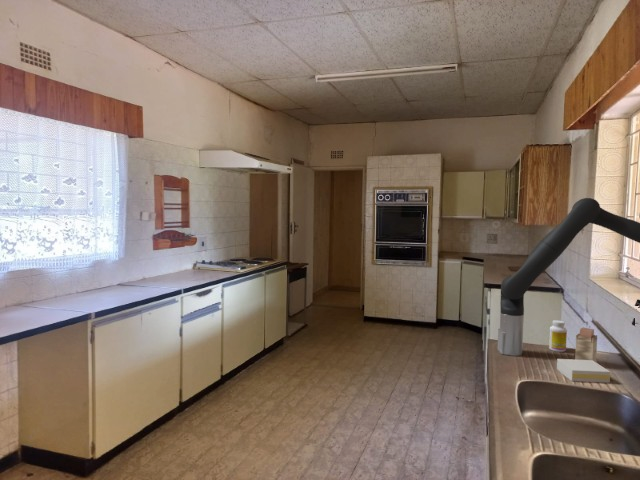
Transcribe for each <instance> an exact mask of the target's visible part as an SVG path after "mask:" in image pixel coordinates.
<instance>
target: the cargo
mask: <svg viewBox="0 0 640 480" xmlns="http://www.w3.org/2000/svg"><path fill="white" fill-rule="evenodd" d="M579 333H580V336H584V337H589V338H591V341H592V338H593V337H594V335H595V329H594V328H588V327H582V328H580V329H579Z"/></svg>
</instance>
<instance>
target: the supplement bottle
mask: <svg viewBox="0 0 640 480" xmlns="http://www.w3.org/2000/svg"><path fill="white" fill-rule="evenodd" d="M567 332H568V330H567V328H566V327H565V321H563V320H557V319H554V320H552V325H551V326H550V327H549V338H548V339H549V341H548V349H549V350H550V351H552V352H557V353H564V352H566V351H567V335H568V333H567Z"/></svg>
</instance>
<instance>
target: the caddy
mask: <svg viewBox="0 0 640 480" xmlns="http://www.w3.org/2000/svg"><path fill="white" fill-rule="evenodd" d="M597 348H598V335H595V334H594V337H593V338H592V341H591V338H589V337H584V336H580V332H579V333H577V334H576V336H575V351H574V352H575V355H574V360H593V361H594V362H596V363H597Z"/></svg>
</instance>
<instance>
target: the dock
mask: <svg viewBox="0 0 640 480" xmlns="http://www.w3.org/2000/svg"><path fill="white" fill-rule="evenodd" d="M556 370H558V372H560V373H561V374H562V375H563V376H565V377H566V378H567V379H569V380H570V381H571V382H584V383H585V382H586V383H604V384H605V383H610V382H611V381H610V380H611V371H610V370H608V369H607V368H605V367H604V366H602V365H600V364H599V363H598V362H597V361H596V362H594V361H593V360H575V359H571V358H570V359H569V358H568V359H566V358H557V359H556Z"/></svg>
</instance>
